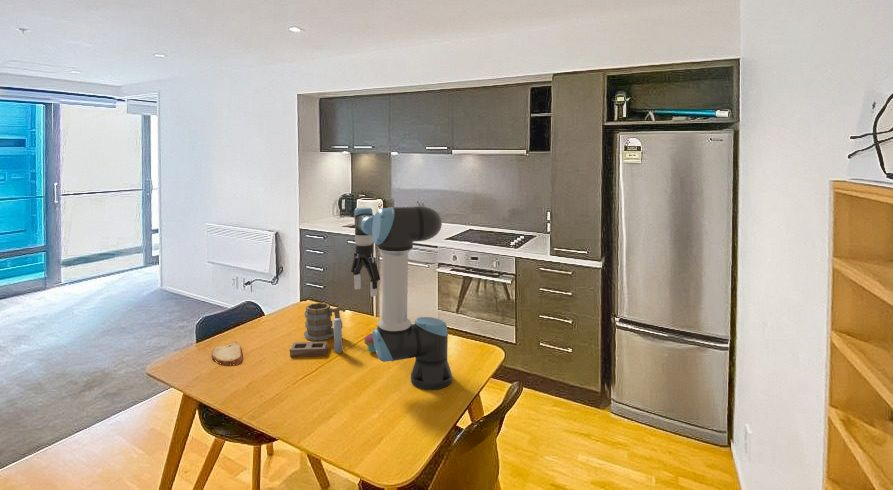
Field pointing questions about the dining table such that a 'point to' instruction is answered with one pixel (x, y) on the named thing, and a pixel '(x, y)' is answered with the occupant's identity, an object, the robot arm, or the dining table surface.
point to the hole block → (308, 349)
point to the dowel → (337, 335)
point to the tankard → (320, 321)
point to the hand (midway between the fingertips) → (365, 292)
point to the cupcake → (370, 342)
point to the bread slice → (228, 354)
